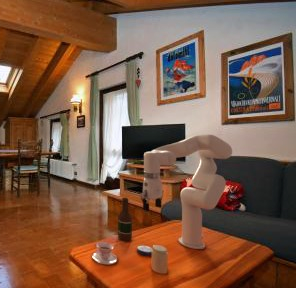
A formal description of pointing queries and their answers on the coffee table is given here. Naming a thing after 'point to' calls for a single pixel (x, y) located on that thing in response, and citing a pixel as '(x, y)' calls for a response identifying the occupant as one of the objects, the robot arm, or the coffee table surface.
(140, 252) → the jar lid
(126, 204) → the beer bottle
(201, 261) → the coffee table surface
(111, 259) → the teacup
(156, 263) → the jar
